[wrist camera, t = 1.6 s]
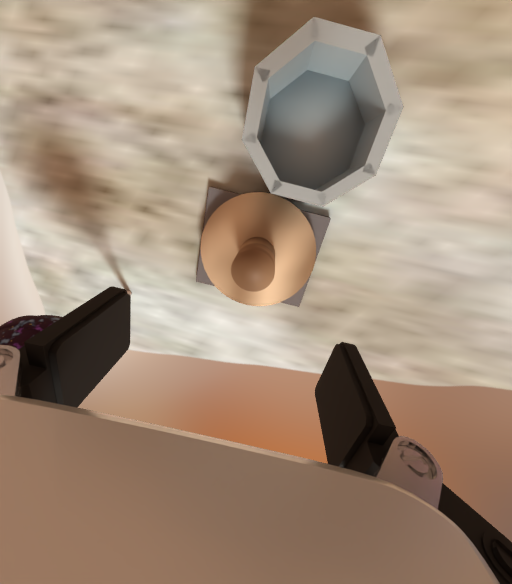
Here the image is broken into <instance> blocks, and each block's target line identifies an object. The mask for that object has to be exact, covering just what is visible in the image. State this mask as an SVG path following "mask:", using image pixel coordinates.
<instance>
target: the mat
mask: <svg viewBox="0 0 512 584" xmlns="http://www.w3.org/2000/svg"><path fill="white" fill-rule="evenodd" d="M239 195H241V194H237V193H233V192H229V191H225V190H221V189H217V188H214V187H209V190H208V197H207V205H206V212H205V219H204V227H203V231H204V228H205V225H206V223H207V221H208V220H209V218H210V217H211V215H212V214H213V213H214V212H215V211H216V209H217V208H218V207H220V206H221V205H222V204H223V203H225V202H226V201H228V200H230V199H231V198H234V197H236V196H239ZM300 211H301V212H302V213H303V215H304V216H305V217H306V219H307V220H308V222H309V224H310V226H311V228H312V230H313V233H314V237H315V242H316V258H317V255H318V253H319V250H320V247H321V244H322V241H323V239H324V236H325V233H326V230H327V227H328V225H329V222H330V219H331V218H330V217H326V216H322V215H318V214H314V213H310V212H307V211H303V210H300ZM316 258H315V261H316ZM309 278H310V277H309ZM309 278H308V280H307V282H306V283H305V284H304V285H303V287H302V288H301V289H300V290H299V291H298V292H297V293H295V294H294V295H293V296H291V297H290V298H288V299H286V300H284V301H282V302H281V303H285V304H289V305H293V306H297V307H299V306H300V303H301V300H302V297H303V295H304V292H305V289H306V286H307V283H308V281H309ZM196 281H197V282H201V283H205V284H209V285H213V286H215V285H214V284H213V283H212V282H211V280H210V279H209V277H208V275H207V273H206V271H205V269H204V266H203V263H202V258H201V248H200V256H199V263H198V270H197V278H196Z"/></svg>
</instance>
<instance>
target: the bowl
mask: <svg viewBox="0 0 512 584" xmlns="http://www.w3.org/2000/svg"><path fill="white" fill-rule="evenodd" d="M402 109H403V104H402V100H401V97H400V94H399V91H398V88H397V85H396V82H395V79H394V75H393V72H392V69H391V66H390V63H389V60H388V57H387V54H386V50H385V47H384V44H383V41H382V38H381V35H378V34H375V33H371V32H367V31H364V30H360V29H357V28H353V27H349V26H346V25H342V24H339V23H335V22H331V21H328V20H324V19H321V18H317V17H313V18H312V19H310V20H309V21H308V22H307V23H306V24H305V25H303V26H302V27H301V28H300V29H299V30H297V31H296V32H295V33H294V34H293V35H292V36H290V37H289V38H288V39H287V40H286V41H284V42H283V43H282V44H281V45H280V46H278V47H277V48H276V49H275V50H274V51H273V52H271V53H270V54H269V55H268V56H267V57H265V58H264V59H263V60H262V61H261V62H260V63H258V64H257V65H256V66H255V69H254V74H253V80H252V85H251V91H250V97H249V102H248V108H247V114H246V119H245V125H244V130H243V136H242V141H243V143H244V145H245V147H246V149H247V151H248V152H249V154H250V156H251V158H252V160H253V162H254V163H255V165H256V167H257V169H258V171H259V172H260V174H261V176H262V178H263V180H264V182H265V183H266V185H267V187H268V189H269V191H270V193H271V194H275V195H279V196H283V197H287V198H291V199H295V200H298V201H302V202H306V203H310V204H314V205H318V206H322V207H323V206H325V205H327V204H328V203H330V202H332V201H333V200H335V199H337V198H338V197H340V196H342V195H344V194H345V193H347V192H349V191H350V190H352V189H354V188H355V187H357V186H359V185H360V184H362V183H364V182H365V181H367V180H369V179H370V178H372V177H374V176H376V173H377V171H378V168H379V166H380V163H381V161H382V159H383V156H384V154H385V151H386V149H387V146H388V144H389V141H390V139H391V136H392V134H393V131H394V129H395V126H396V124H397V122H398V119H399V117H400V114H401V112H402Z"/></svg>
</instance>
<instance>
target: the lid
mask: <svg viewBox="0 0 512 584" xmlns="http://www.w3.org/2000/svg"><path fill="white" fill-rule="evenodd" d="M201 258H202V263H203V266H204V269H205V271H206V273H207V275H208V277H209V279H210V280H211V282H212V283H213V284H214V285H215V287H216V288H217V289H219V290H220V291H221V292H222V293H223V294H224V295H226V296H227V297H229V298H231V299H232V300H235V301H237V302H239V303H243V304H246V305H252V306H267V305H273V304H276V303H279V302H282V301H284V300H286V299H288V298H290V297H291V296H293V295H294V294H295V293H297V292H298V291H299V290H300V289H301V288H302V287H303V285H304V284H305V283H306V282H307V280H308V278H309V277H310V275H311V272H312V270H313V267H314V264H315V258H316V242H315V237H314V233H313V230H312V228H311V226H310V224H309V222H308V220H307V219H306V217H305V216H304V215H303V213H302V212H301V211H300V210H299V209H298V208H297V207H296V206H295V205H294V204H292V203H291V202H289V201H288V200H286V199H284V198H282V197H280V196H277V195H274V194H271V193H265V192H252V193H246V194H242V195H239V196H236V197H234V198H231V199H230V200H228V201H226V202H225V203H223V204H222V205H221V206H220V207H218V208H217V209H216V211H215V212H214V213H213V214H212V215H211V217H210V218H209V220H208V221H207V223H206V225H205V228H204V231H203V234H202V238H201Z"/></svg>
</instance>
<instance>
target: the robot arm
mask: <svg viewBox="0 0 512 584" xmlns="http://www.w3.org/2000/svg"><path fill="white" fill-rule="evenodd" d="M24 344H25V345H24V346H23V347H21V348H20V349H17V348H15V347H12V346H9V345H0V584H512V542H511V541H509V540H508V539H507V538H506V537H505V536H504V535H503V534H501V533H500V532H499V531H498V530H497V529H496V528H494V527H493V526H492V525H491V524H490V523H489V522H487V521H486V520H485V519H484V518H483V517H481V516H480V515H479V514H478V513H477V512H476V511H475V510H473V509H472V508H471V507H470V506H469V505H468V504H466V503H465V502H464V501H463V500H462V499H461V498H459V497H458V496H457V495H456V494H454V492H452V491H451V490H450V489H449V488H448V487H446V486H445V485H444V484H443V483H442V482H443V473H442V471H441V468H440V466H439V464H438V463H437V461H436V460H435V458H434V457H433V456H432V454H431V453H430V452H429V451H428V450H427V449H426V448H424V447H423V446H422V445H421V444H419V443H418V442H416V441H415V440H413V439H410V438H408V437H403V436H398V434H397V432H396V427H395V425H394V423H393V421H392V419H391V417H390V415H389V412H388V410H387V409H386V406H385V404H384V402H383V400H382V398H381V396H380V394H379V392H378V390H377V388H376V386H375V384H374V382H373V380H372V378H371V376H370V374H369V372H368V370H367V368H366V366H365V364H364V362H363V360H362V358H361V355H360V353H359V351H358V349H357V347H356V346H355V345H353V344H349V343H344V342H341V343H340V344H336V345H335V347H334V349H333V351H332V354H331V356H330V358H329V360H328V362H327V364H326V366H325V368H324V371H323V373H322V375H321V377H320V379H319V381H318V383H317V385H316V388H315V397H316V402H317V407H318V413H319V418H320V423H321V429H322V434H323V439H324V445H325V450H326V455H327V461H328V464H326V463H322V462H317V461H314V460H310V459H305V458H301V457H297V456H292V455H288V454H284V453H279V452H275V451H270V450H266V449H262V448H258V447H253V446H249V445H244V444H240V443H236V442H231V441H226V440H222V439H218V438H213V437H209V436H204V435H200V434H196V433H191V432H187V431H182V430H178V429H173V428H169V427H164V426H160V425H155V424H151V423H145V422H141V421H137V420H132V419H128V418H123V417H118V416H114V415H109V414H104V413H99V412H95V411H91V410H86V409H81V408H77V407H78V406H79V405H80V404H81V403H82V401H83V400H84V399H85V398H86V397H87V396H88V394H89V393H90V392H91V391H92V390H93V389H94V388H95V386H96V385H97V384H98V383H99V382H100V381H101V380H102V379H103V377H104V376H105V375H106V374H107V373H108V372H109V371H110V369H111V368H112V367H113V366H114V365H115V364H116V362H117V361H118V360H119V359H120V358H121V357H122V356H123V355H124V353H125V352H126V351H127V350H128V348H129V345H130V294H127V291H126V290H125V289H121V288H117V287H109V288H108V289H106V290H105V291H103V292H101V293H100V294H98V295H97V296H95V297H94V298H92V299H90V300H89V301H87V302H86V303H84V304H83V305H81V306H79V307H78V308H76V309H75V310H73V311H72V312H70V313H69V314H67V315H65V316H64V317H62V318H61V319H59V320H58V321H56V322H54V323H53V324H51V325H50V326H48V327H47V328H45V329H44V330H42V331H40V332H39V333H37V334H36V335H34V336H33V337H31V338H29V339H28V340H26V341H25V342H24Z"/></svg>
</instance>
